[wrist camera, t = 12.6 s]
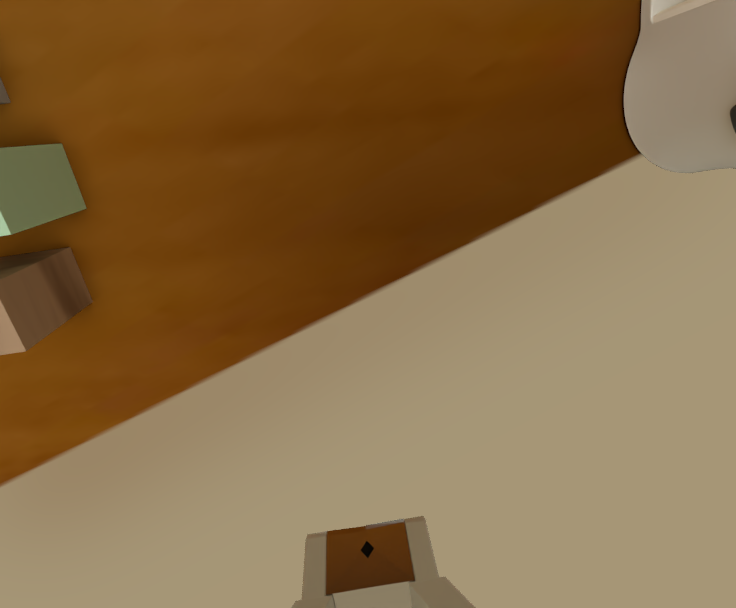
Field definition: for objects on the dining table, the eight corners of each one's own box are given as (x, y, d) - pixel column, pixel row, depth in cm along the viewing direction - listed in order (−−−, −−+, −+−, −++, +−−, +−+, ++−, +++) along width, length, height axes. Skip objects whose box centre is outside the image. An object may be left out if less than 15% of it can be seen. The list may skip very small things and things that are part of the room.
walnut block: (70, 247, 36) (-8, 283, 28) (92, 301, 38) (26, 351, 30) (-2, 257, 36) (-102, 297, 28) (24, 311, 38) (-62, 364, 30)
